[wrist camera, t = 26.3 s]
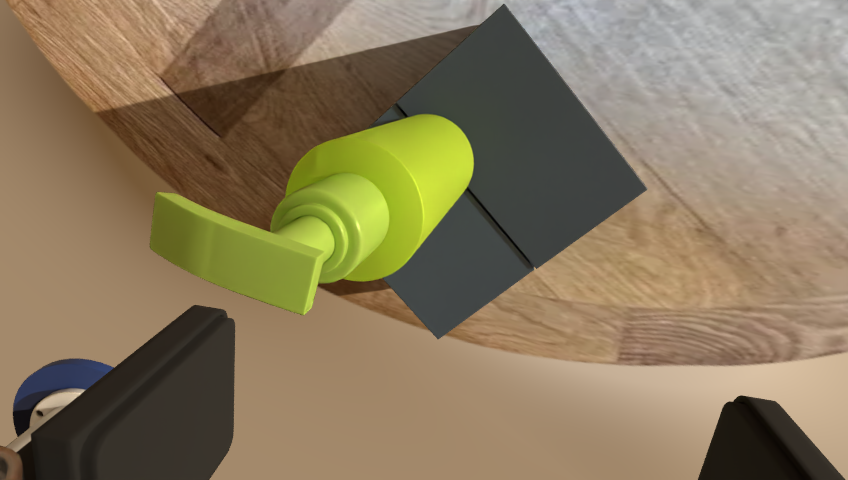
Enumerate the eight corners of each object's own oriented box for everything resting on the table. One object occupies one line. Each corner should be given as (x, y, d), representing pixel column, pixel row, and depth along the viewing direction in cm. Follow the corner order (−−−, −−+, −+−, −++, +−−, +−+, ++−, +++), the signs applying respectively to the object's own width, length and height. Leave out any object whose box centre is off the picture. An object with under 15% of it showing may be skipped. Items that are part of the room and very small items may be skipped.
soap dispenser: (380, 96, 33) (149, 125, 14) (486, 131, 32) (387, 211, 14) (357, 185, 35) (130, 310, 17) (457, 220, 34) (335, 396, 16)
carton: (450, 280, 48) (437, 341, 38) (345, 160, 46) (299, 189, 35) (611, 158, 43) (649, 189, 33) (501, 18, 41) (504, 1, 30)
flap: (438, 337, 38) (438, 339, 37) (303, 187, 36) (301, 188, 35) (534, 267, 36) (534, 269, 35) (395, 103, 33) (394, 103, 33)
